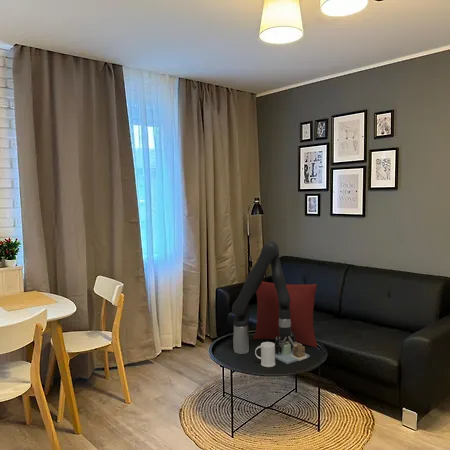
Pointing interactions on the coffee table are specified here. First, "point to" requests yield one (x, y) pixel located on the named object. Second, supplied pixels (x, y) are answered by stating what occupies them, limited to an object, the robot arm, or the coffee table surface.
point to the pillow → (299, 310)
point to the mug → (267, 354)
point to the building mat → (289, 357)
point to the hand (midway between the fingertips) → (285, 350)
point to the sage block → (286, 349)
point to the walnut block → (298, 351)
